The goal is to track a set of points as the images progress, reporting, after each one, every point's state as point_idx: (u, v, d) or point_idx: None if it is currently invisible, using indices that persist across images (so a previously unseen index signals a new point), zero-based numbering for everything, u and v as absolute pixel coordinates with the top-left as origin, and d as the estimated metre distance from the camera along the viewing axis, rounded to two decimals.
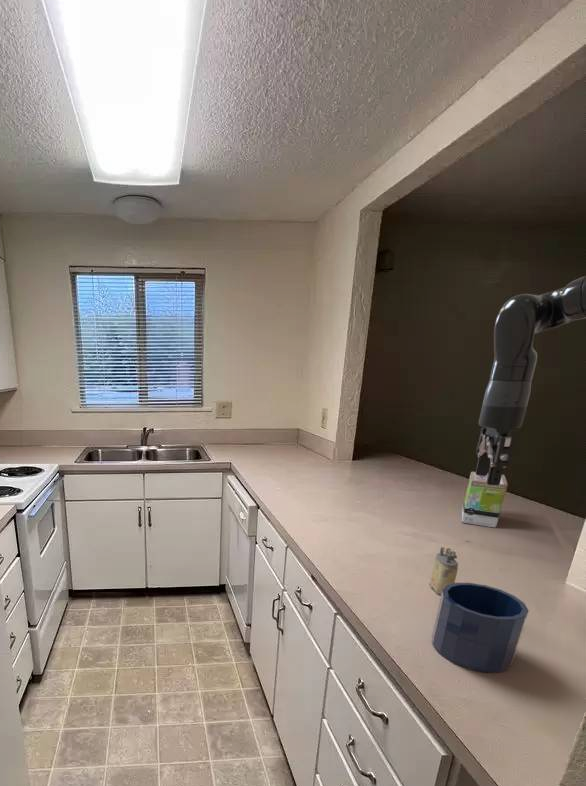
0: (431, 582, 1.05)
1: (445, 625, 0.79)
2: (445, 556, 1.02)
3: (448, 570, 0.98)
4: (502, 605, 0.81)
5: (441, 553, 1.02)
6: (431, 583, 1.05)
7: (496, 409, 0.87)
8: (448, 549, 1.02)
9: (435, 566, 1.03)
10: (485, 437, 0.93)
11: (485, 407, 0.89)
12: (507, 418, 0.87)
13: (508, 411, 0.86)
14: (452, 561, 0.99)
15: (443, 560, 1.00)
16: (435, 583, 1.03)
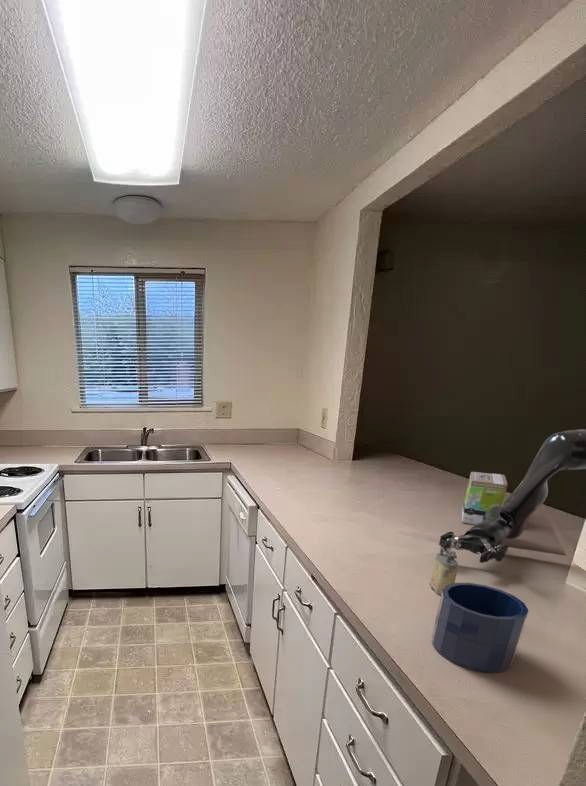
0: (431, 582, 1.05)
1: (445, 625, 0.79)
2: (445, 556, 1.02)
3: (448, 570, 0.98)
4: (502, 605, 0.81)
5: (441, 553, 1.02)
6: (431, 583, 1.05)
7: None
8: (448, 549, 1.02)
9: (435, 566, 1.03)
10: None
11: None
12: None
13: None
14: (452, 561, 0.99)
15: (443, 560, 1.00)
16: (435, 583, 1.03)
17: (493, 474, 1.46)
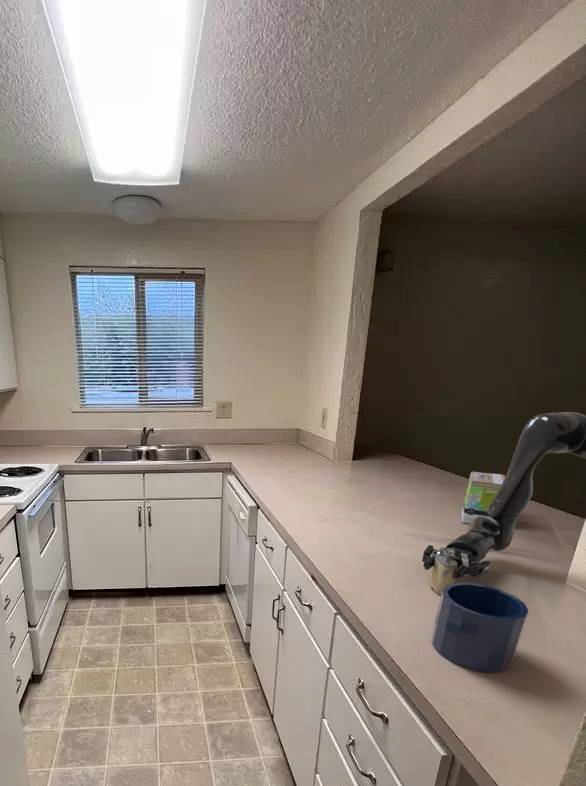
0: (431, 582, 1.05)
1: (445, 625, 0.79)
2: (445, 556, 1.02)
3: (447, 570, 0.98)
4: (502, 605, 0.81)
5: (441, 553, 1.02)
6: (431, 583, 1.05)
7: None
8: (448, 549, 1.02)
9: (435, 566, 1.03)
10: None
11: None
12: None
13: None
14: (451, 561, 0.99)
15: (442, 560, 1.00)
16: (434, 583, 1.03)
17: (493, 474, 1.46)
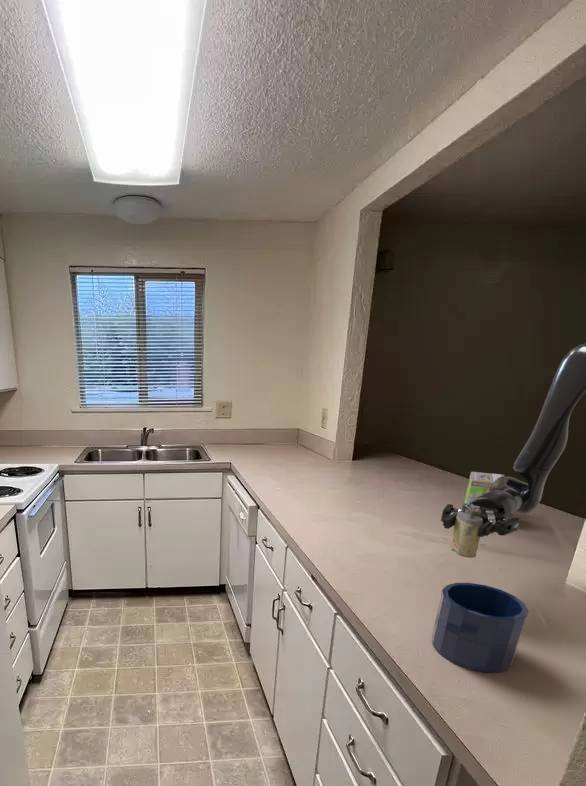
0: (451, 544, 0.93)
1: (445, 625, 0.79)
2: (468, 513, 0.90)
3: (471, 527, 0.86)
4: (502, 605, 0.81)
5: (463, 510, 0.90)
6: (451, 545, 0.93)
7: None
8: (471, 505, 0.89)
9: (456, 525, 0.91)
10: None
11: None
12: None
13: None
14: (476, 517, 0.87)
15: (465, 516, 0.88)
16: (456, 543, 0.91)
17: (493, 474, 1.46)
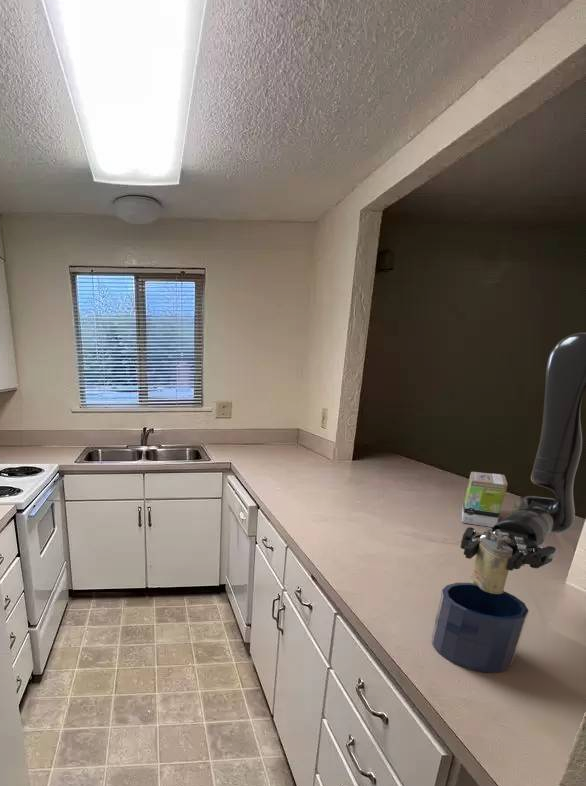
0: (473, 575, 0.79)
1: (445, 625, 0.79)
2: (493, 540, 0.76)
3: (499, 558, 0.72)
4: (502, 605, 0.81)
5: (488, 536, 0.76)
6: (473, 577, 0.79)
7: None
8: (498, 531, 0.76)
9: (479, 554, 0.77)
10: None
11: None
12: None
13: None
14: (504, 546, 0.73)
15: (491, 545, 0.74)
16: (479, 576, 0.77)
17: (493, 474, 1.46)
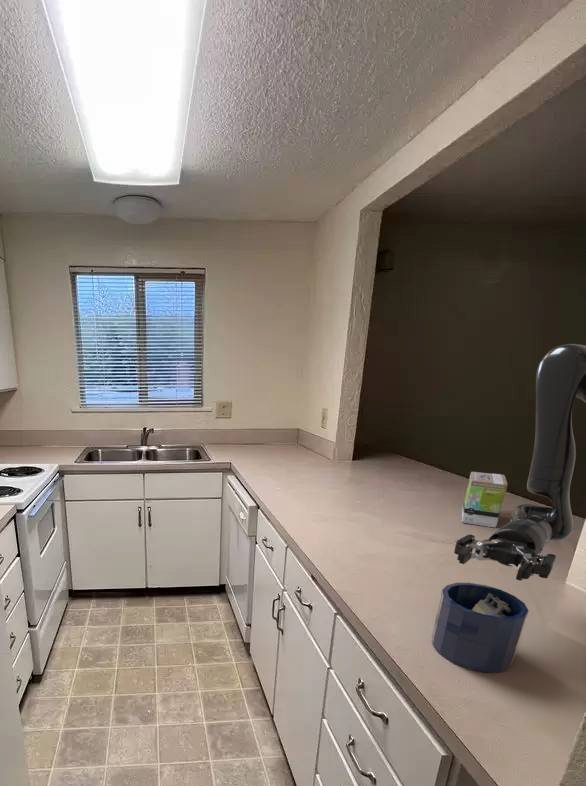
0: None
1: (445, 625, 0.79)
2: (491, 605, 0.80)
3: None
4: None
5: (487, 600, 0.81)
6: None
7: None
8: (497, 598, 0.80)
9: None
10: None
11: None
12: None
13: None
14: (501, 614, 0.78)
15: (491, 610, 0.78)
16: None
17: (493, 474, 1.46)
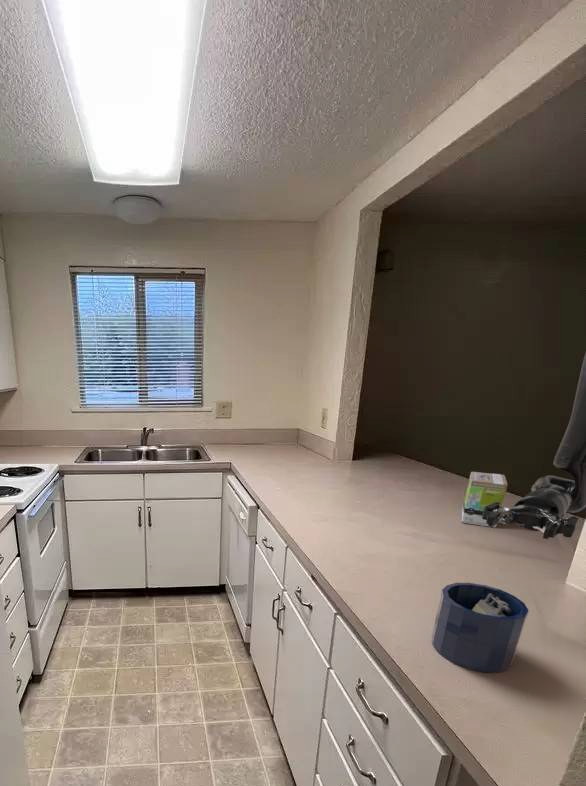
0: None
1: (445, 625, 0.79)
2: (491, 605, 0.80)
3: None
4: None
5: (487, 600, 0.81)
6: None
7: None
8: (498, 598, 0.80)
9: None
10: None
11: None
12: None
13: None
14: (502, 614, 0.78)
15: (491, 610, 0.78)
16: None
17: (493, 474, 1.46)
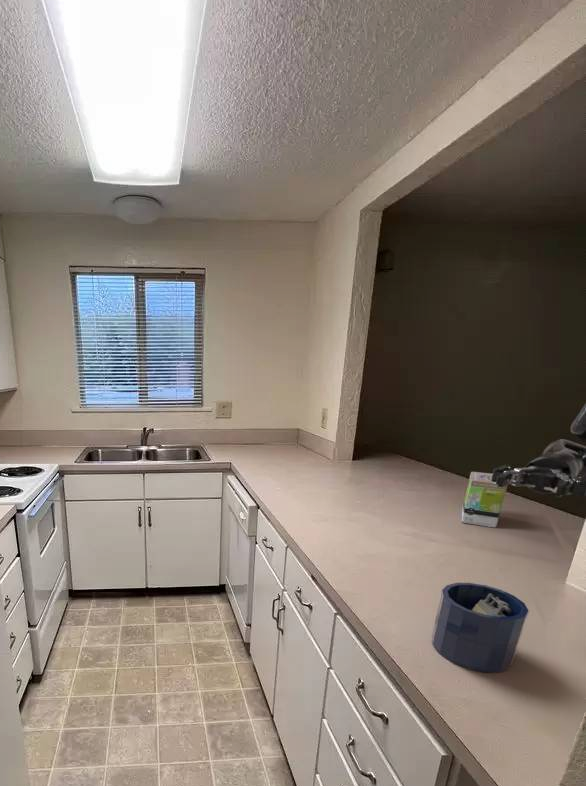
0: None
1: (445, 625, 0.79)
2: (491, 605, 0.80)
3: None
4: None
5: (487, 600, 0.81)
6: None
7: None
8: (498, 598, 0.80)
9: None
10: None
11: None
12: None
13: None
14: (502, 614, 0.78)
15: (491, 610, 0.78)
16: None
17: None
